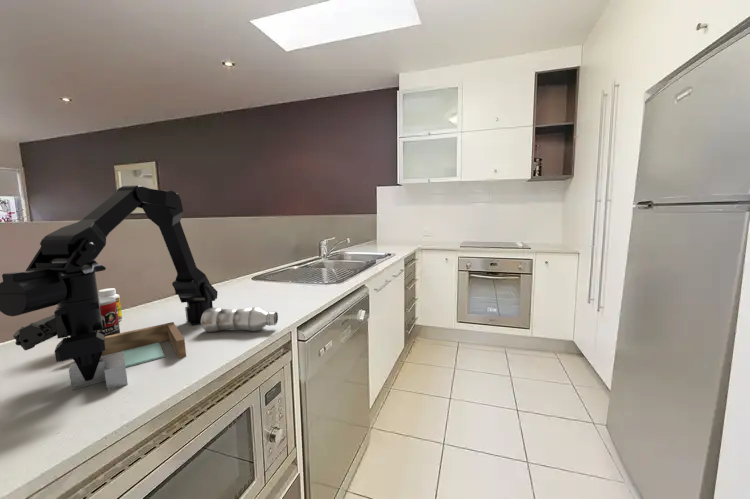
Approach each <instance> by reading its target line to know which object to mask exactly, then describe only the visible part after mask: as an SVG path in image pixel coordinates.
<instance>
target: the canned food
mask: <svg viewBox="0 0 750 499" xmlns="http://www.w3.org/2000/svg"><path fill="white" fill-rule="evenodd" d="M99 301H100V312H101V315H102V316H104V318H105V328H103V329H101V330H96V332H105V336H109V335H114V334H119V333H121V329H120V321H119V319H118V311H117V304H116V299H115V298H114V297H101V298H99Z"/></svg>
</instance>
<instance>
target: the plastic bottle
mask: <svg viewBox="0 0 750 499" xmlns="http://www.w3.org/2000/svg"><path fill="white" fill-rule="evenodd" d="M278 321H279V314H278V312H277V311H271V310H270V311H266V310H265V309H264V308H262V307H259V306H256V307H255V306H254V307H247V308H238V309H230V308H222V307H213V308H209V309H207V310H206V311H204V312H203V314H202V317H201V323H200V326H201V328H202V329H203V330H204V331H205V332H211V333H213V332H220V331H225V330H227V331H228V330H242V331H250V332H258V331H261V330H262V329H264V328H265V327H266V326H268V327H271V326H277V324H278Z"/></svg>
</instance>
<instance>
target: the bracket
mask: <svg viewBox="0 0 750 499" xmlns="http://www.w3.org/2000/svg"><path fill="white" fill-rule="evenodd" d="M126 369H127V367H125V360H124V352H123V351H122V352H121V351H120V352H118V353H117V352H116V353H114V354H110V355H105V356H101V358H100V361H99V364H98V366H97V369H96V372H95V375H94V378H93V379H92V380H89V381H85V380H84V378H83V376H82V374H81V372H80V370H79V368H78V366H77V365H76V363H75V362H72V363H70V364H69V368H68V373H69V379H70V384H71V385H70V387H71V390H72V391H73V390H77V389H81V388H84V387H87V386H91V385H96V384H99V383H102V382H105V384H106V391H111V390H114V389H117V388H120V387H124V386H127V385H128V383H129V382H128V377H127V370H126Z"/></svg>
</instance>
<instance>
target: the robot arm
mask: <svg viewBox="0 0 750 499" xmlns="http://www.w3.org/2000/svg"><path fill="white" fill-rule="evenodd" d="M137 208H138V209H142V210H143V212H144V213H145V215H146V217H147V218H148V219H149V220H150V222H152V223H153V224H154V225H155V226H158V229H159V230H160V232H161V235H162V237H163V238H162V239H163V240H164V243H165V246H166V248H167V251H168V253H169V256H170V258H171V260H172V264H173V266H174V268H175V269H174V270H176V277H175V280H174V281H172V284H171V285H172V287H173V288H174V292H175V293H174V294H175V295H177V296H178V299H179V300H180V303H182V304H183V303H186V306H185V308H184V311H185V316H186V317H185V320H186V321H187V323H189V324H190V325H191V326H193V325H194V326H195V325H199V324H200V325H201V317H202V314H203V312H204V311H206V310H207V309H209V308H214V307H213V304H214V303H213V302H216V300H217V299H218V293H219V292H218V290H217V289H216V288H215V287H214V286H213V284H212V283H211V282H210V281H209V279H208V277H207V275H206V273H205V272H203V271H202V270H201V269H199V268H198V267H197V265H196V263H195V259H194V256H193V253H192V251H191V248H190V245H189V242H188V240H187V237H186V235H185V231H184V229H183V226H182V223H181V220H182V217H183V214H184V209H183V208H184V207H183V204H182V200H181V197H180V195H179V193H176V192H175V191H173V190H159V189H154V188H149V187H145V186H142V185H122V186H121V187H119V188H117V189H116V192H115V193H113V194H112V195H111V196H110V197H108V198H107V199H106V200H105V201H103V202H102V203H101V204H100V205H99V206H98V207H96V208H95V209H94V210H92V211H91V212H89V213H88V214H87V215H86V216H85V217H84V218H82V219H81V220H79V221H77V222H74V223H71V224H68V225H65V226H63V227H60V228H58V229H57V230H54V231H53V232H51V233H48V234H47V235H45V236H44V237H43V238H42V239H41V241H40V242H39V246H40V248H39V249H38V250H37V252H36V253H35V255H34V256H33V258H32V259H31V262H30V263H29V264H28V266H27V268H26V269H25V271H20V272H19V271H17V272H16V271H13V272H6V273H2V275H1V276H2V282H0V312H1V313H2V314H3V315H6V316H8V317H16V316H20V315H25V314H29V313H31V312H35V311H36V312H37V311H39V310H42V309H43V310H44V309H46V308H50V307H54V306H57V307H56V309H55V310H54V314H52V315H50V316H47V317H44V318H42V319H40V320H37V321H35V322H30V323H29V324H28V325H26V326H21V327H20V328H19V329H18V330H16V331H15V333H13V335H12V337H13V338H14V339H15V345H16V346H20V347H21V348H22V349H23V351H29V350H31V349H33V348H35V346H37V345H39V344H41V343H44V342H45V341H48V340H50V339H52V338H54V337H56V336H57V339H61V341H58V343H57V344H56V346H55V349H54V355H55V362H56V363H57V362H59V363H61V362H65V361H69V360H73V361H74V363H76V365H77V366H78V368H79V370H80V372H81V374H82V376H83V378H84V380H85V381H89V380H92V379H93V378H94V375H95V372H96V369H97V366H98V364H99V361H100V358H101V355H102V353H103V351H105V332H96V330H101V329H103V328H105V318H104V316H102V315H101V312H100V301H99V292H98V291H99V290H98V285H97V278H96V273H98V272H104V271H105V270H106V268H107V267H106V266H104V265H103V264H100V263H98V262H97V261H96V259H97V258H98V256H99V255H100V254H101V252H103V249H104V248H105V247H106V244H107V238H108V237H109V234H111V233H112V231H114V230H115V229H116V228H117V226H119V225H120V224H121V223H122V222H123V221H124V220H125V219H127V218H128V217H129V216H130V215H131V214H132V213H133V212H134V211H136V209H137Z"/></svg>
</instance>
